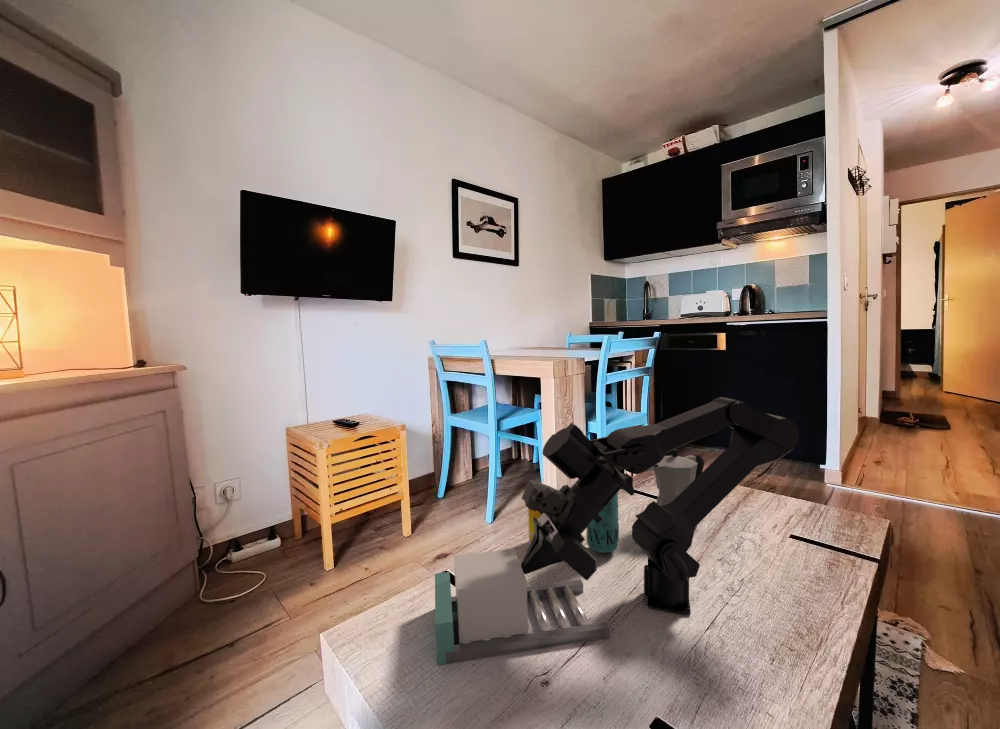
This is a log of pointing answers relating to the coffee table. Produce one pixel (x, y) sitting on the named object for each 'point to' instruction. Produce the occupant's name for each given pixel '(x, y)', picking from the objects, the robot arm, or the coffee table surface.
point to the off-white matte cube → (490, 595)
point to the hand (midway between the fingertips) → (522, 571)
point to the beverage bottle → (605, 526)
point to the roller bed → (520, 642)
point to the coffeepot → (676, 475)
